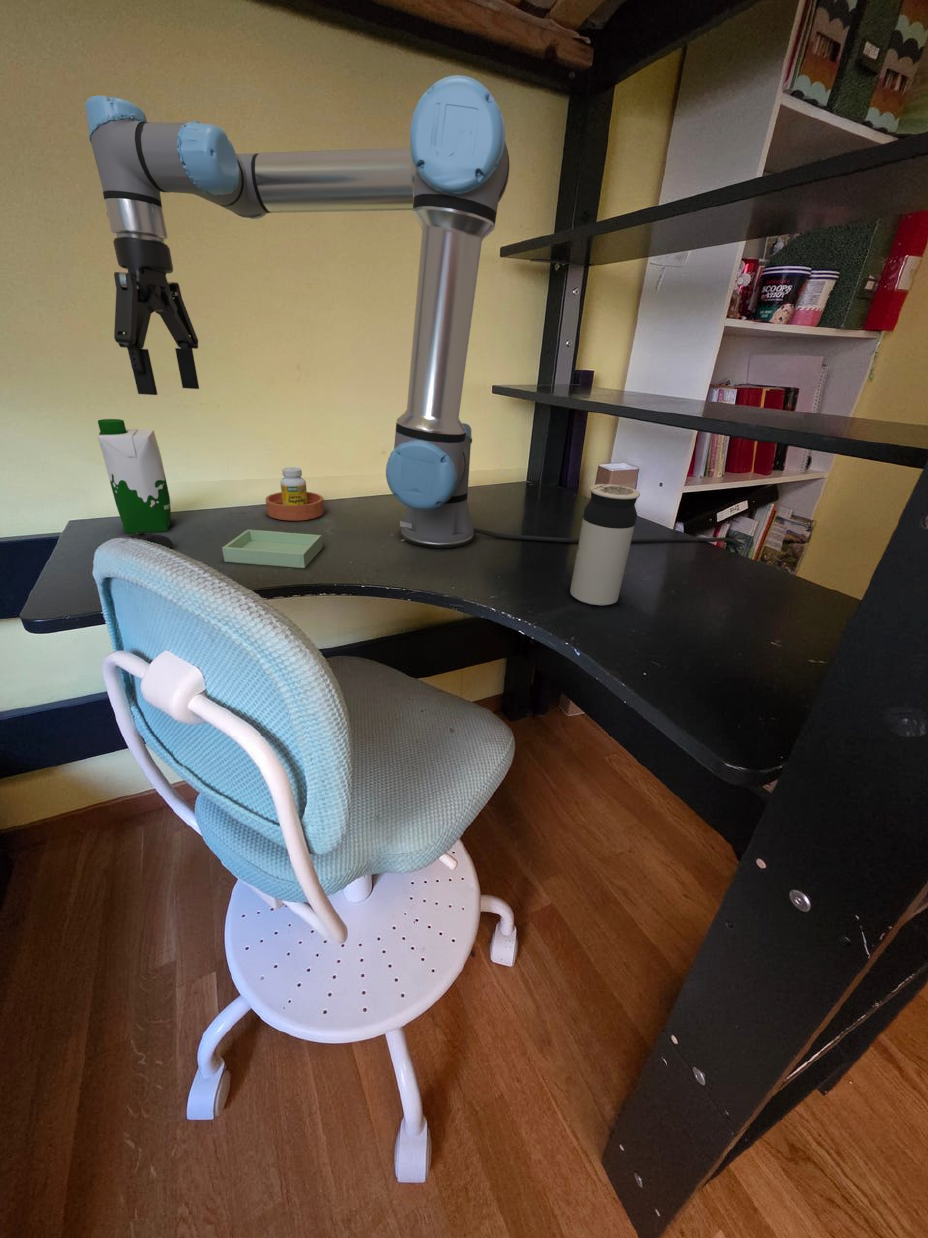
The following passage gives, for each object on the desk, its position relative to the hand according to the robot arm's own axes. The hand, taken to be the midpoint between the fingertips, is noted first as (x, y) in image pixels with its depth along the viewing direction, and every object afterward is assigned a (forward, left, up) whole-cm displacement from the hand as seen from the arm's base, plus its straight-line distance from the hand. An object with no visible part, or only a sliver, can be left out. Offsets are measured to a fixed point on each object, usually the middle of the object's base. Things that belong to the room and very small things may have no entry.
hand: (170, 391), depth 88 cm
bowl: (-13, -18, -26) cm, 34 cm away
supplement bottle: (-13, -18, -26) cm, 34 cm away
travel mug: (-75, +14, -26) cm, 81 cm away
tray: (-18, +7, -26) cm, 32 cm away
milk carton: (+11, -2, -26) cm, 28 cm away
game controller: (+4, +12, -26) cm, 29 cm away
